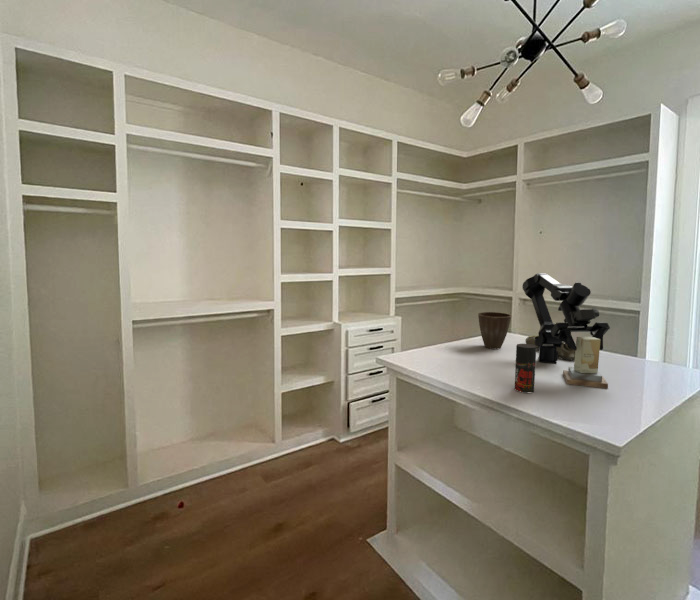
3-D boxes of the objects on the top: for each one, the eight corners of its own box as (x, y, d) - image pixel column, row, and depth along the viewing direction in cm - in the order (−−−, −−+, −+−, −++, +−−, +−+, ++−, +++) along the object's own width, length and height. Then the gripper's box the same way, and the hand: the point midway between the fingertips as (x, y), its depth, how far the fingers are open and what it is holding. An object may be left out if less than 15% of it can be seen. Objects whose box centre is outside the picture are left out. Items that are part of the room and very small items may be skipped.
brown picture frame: (567, 383, 137) (567, 374, 136) (563, 374, 148) (563, 365, 147) (607, 388, 132) (608, 378, 132) (600, 377, 143) (601, 368, 143)
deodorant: (510, 388, 132) (512, 344, 131) (523, 386, 135) (525, 342, 133) (524, 394, 127) (526, 348, 125) (538, 391, 129) (540, 346, 128)
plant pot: (513, 346, 192) (515, 313, 190) (504, 352, 180) (505, 317, 178) (483, 342, 201) (484, 311, 199) (472, 347, 189) (473, 314, 188)
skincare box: (580, 373, 137) (583, 339, 135) (573, 370, 141) (575, 336, 140) (598, 373, 137) (601, 338, 136) (590, 369, 141) (593, 336, 140)
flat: (541, 343, 199) (541, 328, 198) (586, 361, 167) (587, 343, 166) (520, 344, 198) (521, 329, 197) (562, 361, 165) (563, 344, 165)
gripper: (556, 300, 140) (572, 337, 131) (608, 300, 141) (628, 336, 131) (544, 318, 149) (558, 354, 140) (593, 318, 150) (610, 354, 140)
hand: (588, 349), depth 137 cm, fingers open, 9 cm apart
